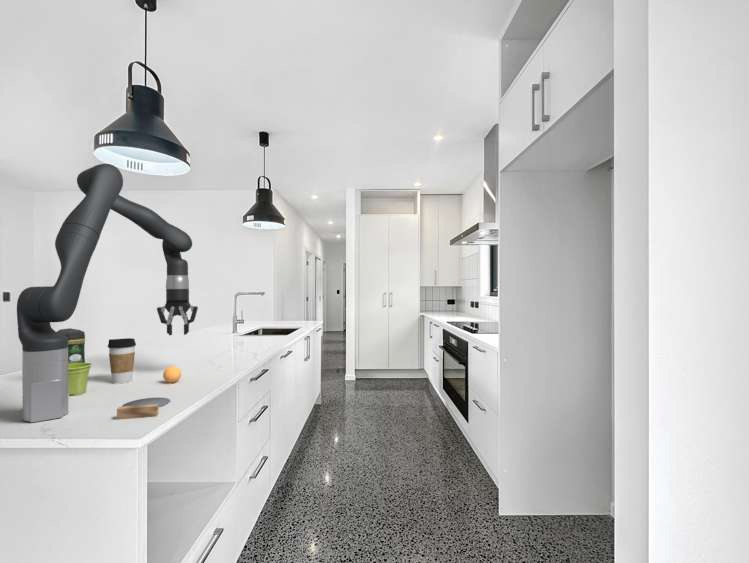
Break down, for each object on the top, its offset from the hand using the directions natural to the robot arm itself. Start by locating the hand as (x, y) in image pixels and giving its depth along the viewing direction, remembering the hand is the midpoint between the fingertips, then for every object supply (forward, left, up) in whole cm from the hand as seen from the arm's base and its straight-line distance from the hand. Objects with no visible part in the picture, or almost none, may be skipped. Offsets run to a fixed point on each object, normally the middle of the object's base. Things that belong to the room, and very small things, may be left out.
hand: (177, 334), depth 151 cm
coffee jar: (+16, +31, -16) cm, 38 cm away
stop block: (-43, +20, -15) cm, 49 cm away
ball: (-9, +4, -13) cm, 16 cm away
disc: (-32, +16, -15) cm, 39 cm away
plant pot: (-4, +31, -16) cm, 35 cm away
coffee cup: (+4, +17, -16) cm, 23 cm away
